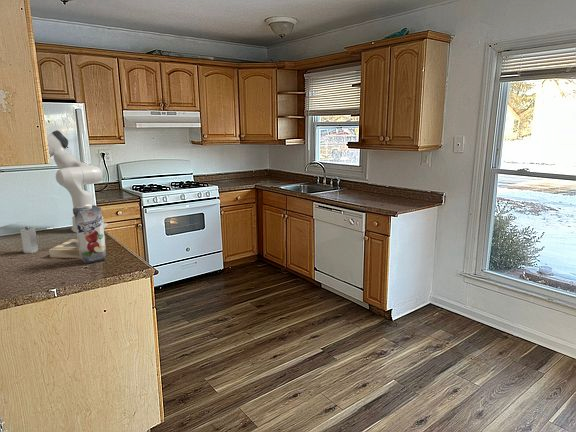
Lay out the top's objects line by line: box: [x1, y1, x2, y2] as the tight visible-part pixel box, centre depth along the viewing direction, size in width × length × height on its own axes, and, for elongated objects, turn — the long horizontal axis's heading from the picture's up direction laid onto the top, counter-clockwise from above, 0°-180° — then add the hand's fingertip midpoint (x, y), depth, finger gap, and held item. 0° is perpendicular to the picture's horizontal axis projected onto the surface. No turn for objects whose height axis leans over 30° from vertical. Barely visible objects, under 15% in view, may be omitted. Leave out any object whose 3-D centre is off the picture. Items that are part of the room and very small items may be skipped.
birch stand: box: [48, 238, 81, 259], centre depth 201 cm, size 18×16×8 cm
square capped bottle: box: [19, 225, 39, 254], centre depth 202 cm, size 4×4×13 cm
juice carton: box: [74, 204, 107, 265], centre depth 186 cm, size 9×10×27 cm
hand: (24, 129), depth 200 cm, fingers open, 8 cm apart
